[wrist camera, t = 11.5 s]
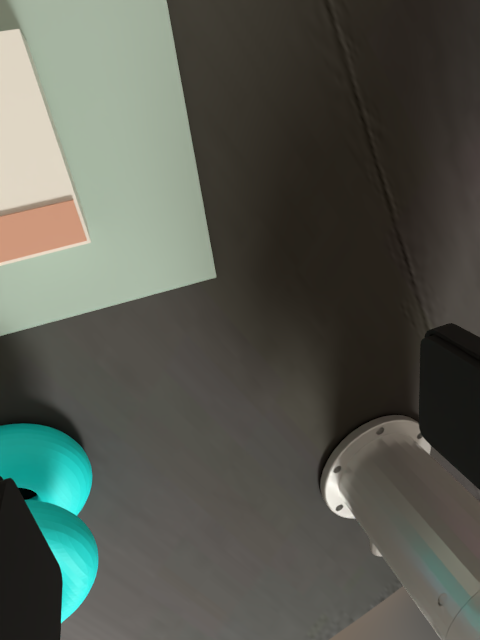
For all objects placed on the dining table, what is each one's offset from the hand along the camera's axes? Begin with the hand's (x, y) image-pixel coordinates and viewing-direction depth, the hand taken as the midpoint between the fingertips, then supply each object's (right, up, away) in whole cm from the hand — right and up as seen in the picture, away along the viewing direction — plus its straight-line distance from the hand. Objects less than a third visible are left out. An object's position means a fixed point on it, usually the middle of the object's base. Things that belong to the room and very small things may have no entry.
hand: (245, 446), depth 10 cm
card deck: (-12, +12, +14) cm, 22 cm away
